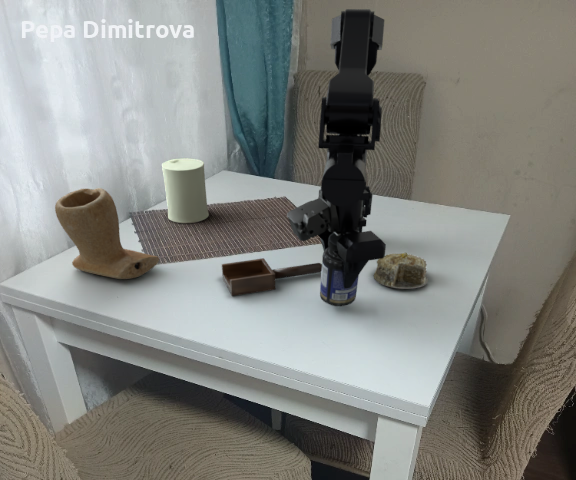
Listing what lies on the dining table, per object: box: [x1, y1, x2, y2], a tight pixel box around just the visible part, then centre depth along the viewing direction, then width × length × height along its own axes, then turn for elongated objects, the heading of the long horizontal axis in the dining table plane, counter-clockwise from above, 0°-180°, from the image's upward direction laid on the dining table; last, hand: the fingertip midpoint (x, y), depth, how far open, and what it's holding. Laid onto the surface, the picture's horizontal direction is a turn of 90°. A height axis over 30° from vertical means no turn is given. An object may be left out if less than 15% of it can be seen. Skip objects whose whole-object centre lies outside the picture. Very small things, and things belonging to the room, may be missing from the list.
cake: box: [373, 252, 429, 290], centre depth 104 cm, size 10×10×5 cm
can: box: [161, 157, 210, 224], centre depth 127 cm, size 9×9×12 cm
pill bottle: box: [319, 233, 360, 307], centre depth 92 cm, size 6×6×11 cm
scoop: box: [221, 258, 322, 297], centre depth 104 cm, size 18×7×3 cm, turn 109°
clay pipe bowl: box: [54, 187, 160, 280], centre depth 103 cm, size 15×12×15 cm
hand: (339, 279), depth 93 cm, fingers closed on pill bottle, 6 cm apart
